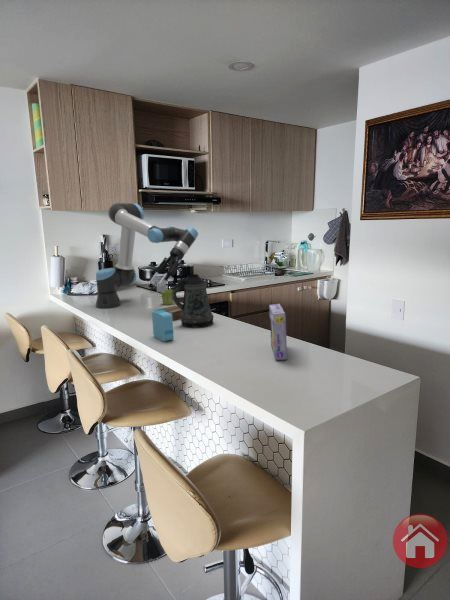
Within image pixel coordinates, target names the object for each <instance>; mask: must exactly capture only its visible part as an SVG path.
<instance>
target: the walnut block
mask: <svg viewBox="0 0 450 600" xmlns="http://www.w3.org/2000/svg"><path fill="white" fill-rule="evenodd" d="M158 310H163V311H166V312H168V313H171V314H172V318H173V322H175V321H180V320H181V317H182V313H183V310H182V309H180V308H179V307H178V306H177V305H173V306H172V305H171V306H168V307H163V308H159V309H158Z"/></svg>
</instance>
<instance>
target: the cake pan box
mask: <svg viewBox="0 0 450 600" xmlns="http://www.w3.org/2000/svg"><path fill="white" fill-rule="evenodd" d="M268 308H269V312H268V313H269V324H270V346H271V350H272V354H273V357H274V360H275V361H287V360H288V352H287V351H288V349H287V348H288V347H287V324H286V323H287V321H286V312H285V310H284V309H283V307H282V306H281V304H280V303H276V304H275V303H274V304H269V307H268Z"/></svg>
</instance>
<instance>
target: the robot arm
mask: <svg viewBox="0 0 450 600" xmlns="http://www.w3.org/2000/svg"><path fill="white" fill-rule="evenodd" d="M144 215H145V213H144V209H143V208H142V207H141V205H139V204H137V203H134V202H133V203H131V202H122V203H121V202H117V203H114V204H112V205H111V206H110V207H109V208H108V218H109V220H110V221H112V223H114V224H116V225H119V226H121V230H120V241H119V251H118V259H117V263H116V264H115V265H114V267H115V268H114V267H109V268H108V267H107V268H102V269H99V270H97V271H96V272H95V279H96V289H97V297H96V301H95V307H96V308H97V309H111V308H112V309H113V308H116V307H120V306H121V300H120V297H119V295H118V291H117V289H118V288H124V287H129V286H132V285H133V284H134V283H136V281H137V272H136V270H135V269H134V266H133V265H132V262H133V258H134V257H133V254H134V248H135V247H134V246H135V237H136V233H138V234H140V235H142V236H145V237H146V238H147V239H148V241H149V242H151V243H153V244H160V243H165V242H167V243H168V242H176V243H175V244H174V246H173V247H172V248H171V250H169V251H170V252H169V256H168V257H164V258H163V259H162V261H161V262H160V263H159V265H158V266H157V267H156V268H155V269H154V275H153V276H152V277H151V279H150V280H149V283H151V284H152V285H155V283H156V276H157V275H158V274H163V272H164V271H165V270H166V269H167V271H166V273H164V274H165V275H164V277H163V278H162V279H161V281H160V282H159V283H160V284H161V285H162V286H164V284H165V283H166V284H167V282H168V280H169V278H171V277H172V276H175V275H176V272H177V271H178V268H179V266H180V265H181V263H183V261H182V260H183V258H184V257H185V255H186V254H187V253H188V251H189V250H190V248H191V247H192V245H193V244H194V242H195V241H196V239H197V237H198V236H199V231H198V230H197V229H196V228H194V227H193V226H187V228H186V229H181V228H179V227H175V226H167V227H165V228H161V227H159V226H156V225H155V224H152V223H150V222H148V221H146V220H144V218H145V217H144Z"/></svg>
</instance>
